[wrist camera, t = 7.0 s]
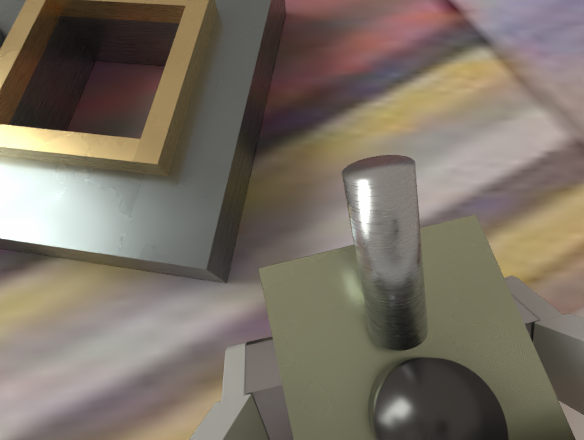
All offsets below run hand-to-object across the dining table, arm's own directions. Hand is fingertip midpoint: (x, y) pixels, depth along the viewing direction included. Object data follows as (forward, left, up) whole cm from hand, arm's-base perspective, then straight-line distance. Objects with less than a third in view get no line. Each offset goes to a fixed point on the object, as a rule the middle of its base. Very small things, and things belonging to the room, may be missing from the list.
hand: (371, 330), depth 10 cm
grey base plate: (-17, +9, -6) cm, 20 cm away
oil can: (0, -1, -6) cm, 6 cm away
